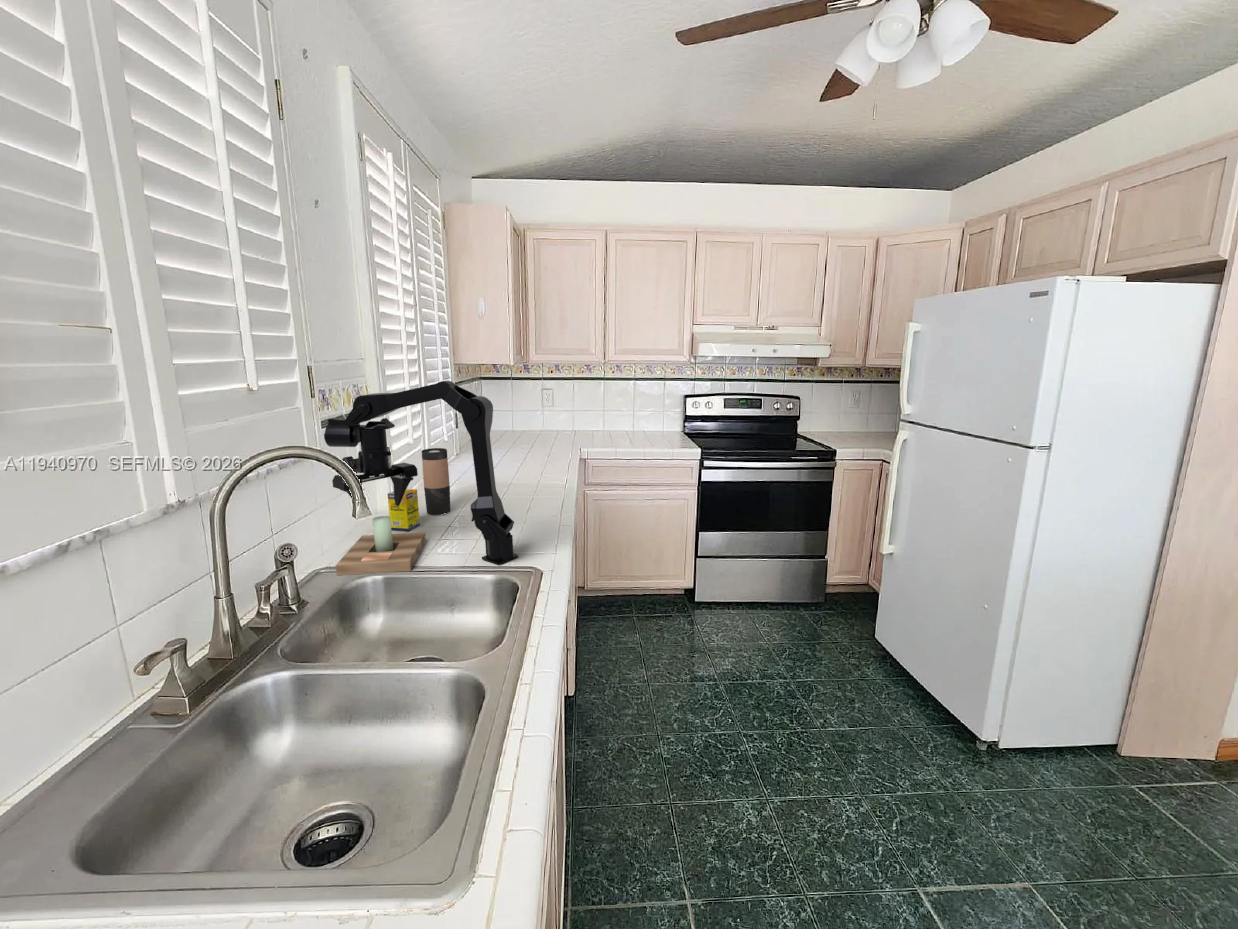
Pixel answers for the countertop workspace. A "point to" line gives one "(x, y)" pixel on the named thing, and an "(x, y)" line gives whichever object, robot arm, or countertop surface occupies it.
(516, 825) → the countertop surface
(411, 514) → the supplement box
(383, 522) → the peg
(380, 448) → the robot arm
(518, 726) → the countertop surface
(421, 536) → the hole plate
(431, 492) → the travel mug
